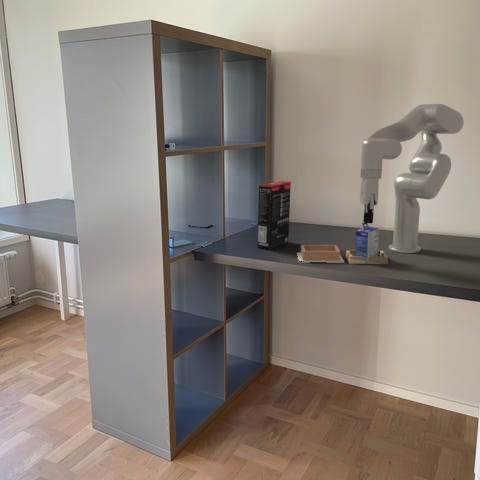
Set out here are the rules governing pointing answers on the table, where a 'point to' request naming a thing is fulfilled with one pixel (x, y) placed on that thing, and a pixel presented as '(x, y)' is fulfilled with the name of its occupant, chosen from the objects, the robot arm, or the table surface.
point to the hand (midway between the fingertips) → (368, 222)
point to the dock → (320, 254)
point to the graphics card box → (273, 214)
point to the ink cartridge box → (367, 242)
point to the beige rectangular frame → (354, 259)
